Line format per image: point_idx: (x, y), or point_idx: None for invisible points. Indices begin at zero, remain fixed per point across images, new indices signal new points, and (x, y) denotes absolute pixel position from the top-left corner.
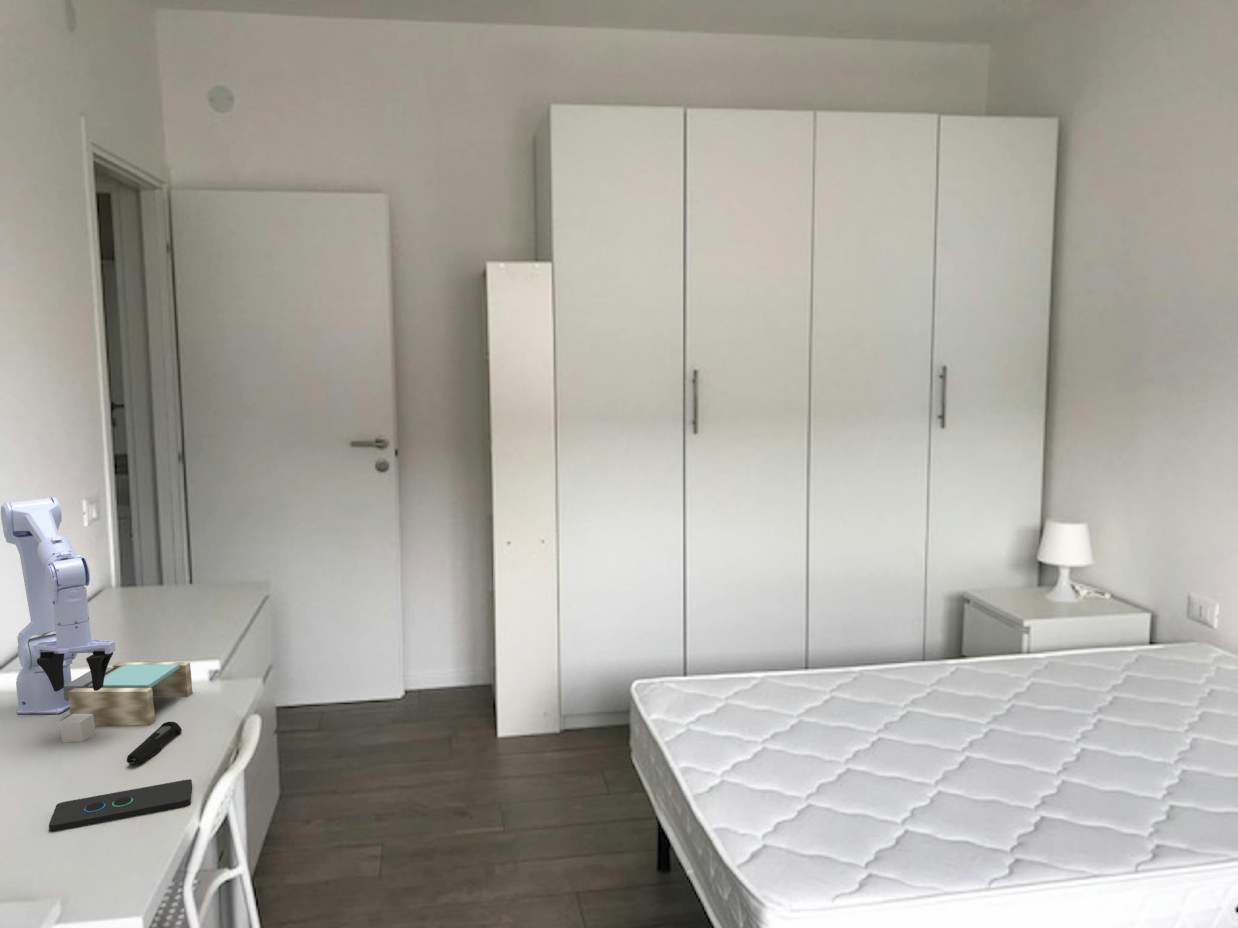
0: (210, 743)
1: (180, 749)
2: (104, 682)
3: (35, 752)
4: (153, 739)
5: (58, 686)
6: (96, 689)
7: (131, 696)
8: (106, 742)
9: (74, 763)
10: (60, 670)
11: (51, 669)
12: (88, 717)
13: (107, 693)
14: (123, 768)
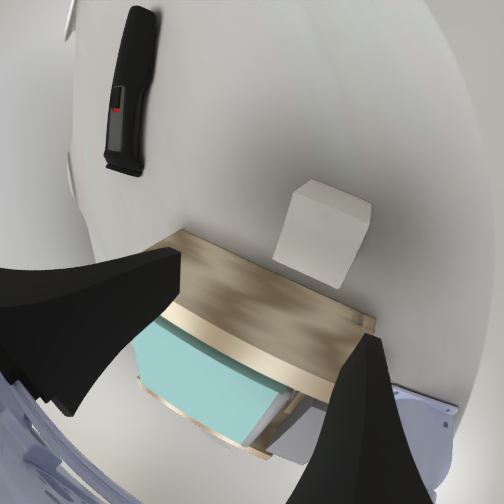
0: (82, 111)
1: (106, 88)
2: (248, 391)
3: (427, 145)
4: (113, 79)
5: (355, 357)
6: (165, 247)
7: None
8: (241, 148)
9: (280, 28)
10: (321, 449)
11: (356, 458)
12: (280, 235)
13: (221, 323)
14: (166, 8)
